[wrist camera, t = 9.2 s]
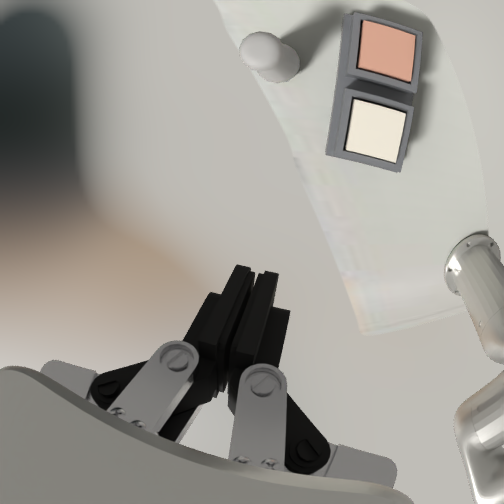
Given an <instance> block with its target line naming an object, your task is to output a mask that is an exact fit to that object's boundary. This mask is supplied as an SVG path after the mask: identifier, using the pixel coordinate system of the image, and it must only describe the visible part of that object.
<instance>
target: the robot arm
mask: <svg viewBox="0 0 504 504" xmlns="http://www.w3.org/2000/svg"><path fill="white" fill-rule="evenodd" d="M500 258H501V257H500V250H499V247H498V245H497V243H496V242H495V241H494V240H493V239H492V238H491V237H489V236H487V235H483V234H478V235H473V236H470V237H468V238H466V239H464V240H463V241H462V242H460V243H459V244H458V245H457V246H456V247H455V248H454V249H453V251H452V252H451V254H450V255H449V257H448V259H447V262H446V265H445V270H444V278H445V282H446V284H447V287H448V288H449V290H450V291H451V292H452V293H454V294H456V295H459V296H461V297H462V299H463V301H464V303H465V305H466V307H467V310H468V312H469V314H470V317H471V319H472V321H473V324H474V326H475V328H476V331H477V333H478V336H479V338H480V341H481V344H482V346H483V349H484V351H485V353H486V354H487V356H488V357H489V358H490V359H491V360H493V361H495V362H497V363H500V364H504V266H503V264H502V263H501V262H500ZM278 276H279V274H278V273H273V272H268V271H265V272H264V274H261V273H259V274H258V277H257V279H256V282H255V285H254V278H255V272H251V268H250V267H246V266H241V265H236V266H235V268H234V270H233V272H232V274H231V276H230V278H229V280H228V282H227V284H226V286H225V288H224V290H223V292H222V294H216V293H212V292H210V293H209V294H208V296H207V298H206V299H205V301H204V303H203V305H202V307H201V308H200V310H199V312H198V314H197V316H196V317H195V319H194V321H193V323H192V325H191V327H190V328H189V330H188V332H187V334H186V335H185V337H184V339H183V341H170V342H167V343H165V344H163V345H162V346H161V347H160V348H158V350H157V351H156V352H155V353H154V354H153V356H152V357H151V358H150V359H149V360H147V361H144V362H141V363H137V364H134V365H130V366H127V367H124V368H120V369H116V370H112V371H109V372H105V373H103V374H97V373H96V371H94V370H89V369H86V368H82V367H78V366H75V365H72V364H68V363H65V362H62V361H58V360H52V361H49V362H47V363H46V364H44V366H43V367H42V369H41V371H40V372H38V371H36V370H33V369H30V368H26V367H21V366H7V367H4V368H2V369H0V504H414V503H413V501H412V500H411V499H410V498H409V497H408V496H406V495H405V494H403V493H401V492H400V491H397V490H395V489H393V486H394V483H395V480H396V476H397V468H396V465H395V463H394V462H393V461H392V460H391V459H389V458H387V457H383V456H379V455H375V454H371V453H368V452H364V451H361V450H357V449H354V448H350V447H347V446H344V445H341V444H339V445H334V444H331V443H329V442H327V440H326V439H325V437H324V436H323V435H322V434H321V433H320V432H319V430H318V429H317V428H316V427H315V426H314V425H313V423H312V422H311V421H310V420H309V419H308V418H307V416H306V415H305V414H304V413H303V412H302V410H301V409H300V408H299V407H298V406H297V404H296V403H295V402H294V401H293V400H292V398H291V397H290V396H289V394H288V393H287V382H286V377H285V376H284V374H283V373H282V372H281V371H280V370H279V369H278V367H279V362H280V358H281V353H282V349H283V344H284V340H285V335H286V330H287V325H288V320H289V316H290V310H285V309H280V308H276V307H273V303H274V297H275V292H276V287H277V282H278ZM227 383H228V407H229V409H230V410H231V412H232V413H233V415H234V416H235V417H234V425H233V431H232V438H231V445H230V452H229V458H228V459H224V458H221V457H217V456H214V455H211V454H207V453H204V452H201V451H198V450H195V449H192V448H189V447H186V446H184V445H181V444H179V442H180V441H181V439H182V438H183V436H184V435H185V433H186V431H187V430H188V428H189V427H190V425H191V424H192V422H193V421H194V419H195V418H196V416H197V414H198V413H199V411H200V410H201V408H202V405H203V404H205V403H207V402H210V401H211V400H212V397H214V398H217V395H218V392H219V391H220V392H224V391H225V388H226V385H227ZM454 431H455V436H456V440H457V443H458V447H459V450H460V453H461V457H462V460H463V463H464V467H465V470H466V474H467V478H468V481H469V485H470V489H471V494H472V497H473V501H474V503H475V504H504V448H502V445H503V444H504V370H503V371H502V372H501V373H500V374H499V375H498V376H497V377H496V378H495V379H493V380H492V381H491V382H490V383H488V384H487V385H486V386H484V387H483V388H482V389H480V390H479V391H477V392H476V393H475V394H473V395H472V396H471V397H469V398H468V399H467V400H465V401H464V402H463V403H462V404H461V405H460V407H459V408H458V409H457V411H456V414H455V417H454Z"/></svg>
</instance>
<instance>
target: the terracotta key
mask: <svg viewBox="0 0 504 504" xmlns="http://www.w3.org/2000/svg"><path fill="white" fill-rule="evenodd" d="M414 48H415V35H412V34H409V33H406V32H403V31H400V30H397V29H394V28H391V27H388V26H384V25H381V24H377V23H373V22H369V21H365V20H364V21H363V23H362V25H361V27H360V35H359V45H358V55H357V63H356V69H359V70H363V71H367V72H371V73H375V74H378V75H382V76H385V77H389V78H392V79H395V80H398V81H401V82H410V81H411V77H412V68H413V59H414Z"/></svg>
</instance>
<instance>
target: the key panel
mask: <svg viewBox="0 0 504 504" xmlns="http://www.w3.org/2000/svg"><path fill="white" fill-rule="evenodd" d="M364 20H365V21H369V22H373V23H377V24H381V25H384V26H388V27H391V28H394V29H397V30H400V31H403V32H406V33H409V34H412V35H415V48H414V59H413V68H412V77H411V81H410V82H401V81H398V80H395V79H392V78H389V77H385V76H382V75H378V74H375V73H371V72H367V71H363V70H359V69H356V63H357V55H358V45H359V35H360V27H361V25H362V23H363V21H364ZM422 35H423V32H420V31H418V30H415V29H412V28H409V27H406V26H403V25H400V24H397V23H394V22H391V21H388V20H384V19H381V18H377V17H373V16H369V15H365V14H361V13H357V12H354V13H353V15H349V14H344V17H343V23H342V33H341V43H340V53H339V61H338V70H337V78H336V85H335V93H334V100H333V107H332V113H331V120H330V126H329V133H328V139H327V145H326V151H325V152H326V155H328V156H333V157H337V158H342V159H346V160H351V161H355V162H359V163H363V164H367V165H371V166H375V167H379V168H382V169H386V170H390V171H393V172H401V168H402V164H403V160H404V156H405V151H406V147H407V142H408V138H409V133H410V128H411V123H412V117H413V112H414V107H412V100H413V93H417V86H418V79H419V70H420V61H421V50H422ZM352 99H355V100H359V101H363V102H367V103H371V104H375V105H379V106H382V107H386V108H389V109H392V110H396V111H399V112H402V113H405V114H406V116H405V121H404V127H403V132H402V137H401V141H400V146H399V150H398V155H397V159H396V163H394V162H391V161H387V160H384V159H380V158H376V157H373V156H369V155H365V154H361V153H357V152H353V151H348V150H346V148H345V146H344V143H345V137H346V131H347V126H348V120H349V113H350V107H351V101H352Z"/></svg>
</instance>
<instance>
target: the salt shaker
mask: <svg viewBox="0 0 504 504" xmlns="http://www.w3.org/2000/svg"><path fill="white" fill-rule="evenodd" d="M239 56H240V57H241V59H242V61H243V62H244V64H245V65H246V66H248V67H249V68H251V69H252V70H257V72H258V74H259V75H260V76H261V77H262V78H264V79H265V80H266V81H269V82H273V83H282V82H287V81H289V80H290V79H291V78H293V77H294V76H295V75H296V73H297V72H298V70H299V68H300V58H299V56H298V55H297V53H296V51H295V50H294V49H293V48H291V47H290V46H288V45H287V44H282V43H281V41H280V39H279V38H277V37H276V36H274V35H273V34H271V33H266V32H256V33H252V34H250V35H248V36H247V37H246V38H244V39H243V41H242V43H241V45H240V47H239Z"/></svg>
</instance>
